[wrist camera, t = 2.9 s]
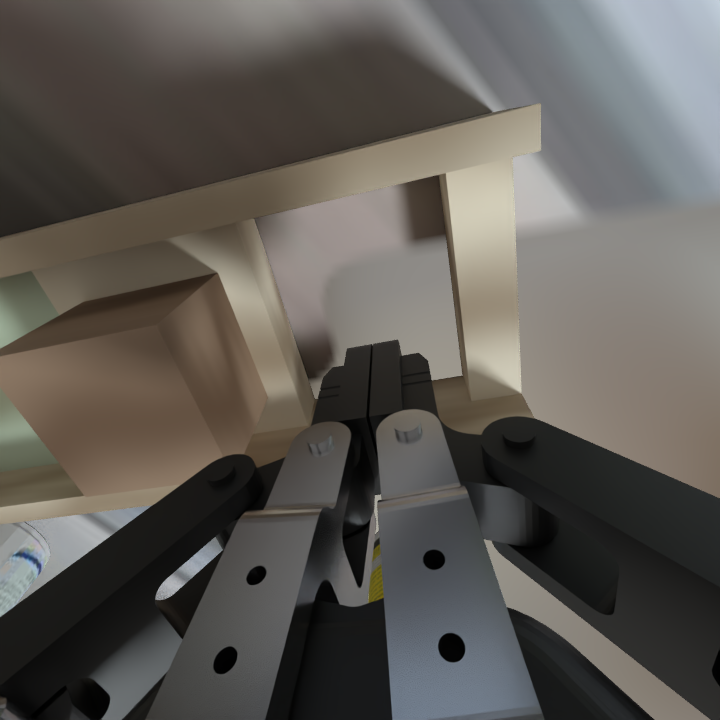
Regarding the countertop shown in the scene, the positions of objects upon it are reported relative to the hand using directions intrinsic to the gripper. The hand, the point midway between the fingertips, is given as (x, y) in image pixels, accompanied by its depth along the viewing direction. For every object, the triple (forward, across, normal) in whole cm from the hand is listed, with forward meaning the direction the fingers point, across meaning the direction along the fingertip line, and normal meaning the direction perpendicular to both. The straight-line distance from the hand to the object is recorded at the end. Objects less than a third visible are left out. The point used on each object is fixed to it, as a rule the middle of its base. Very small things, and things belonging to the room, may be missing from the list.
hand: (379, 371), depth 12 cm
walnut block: (+4, +8, 0) cm, 9 cm away
